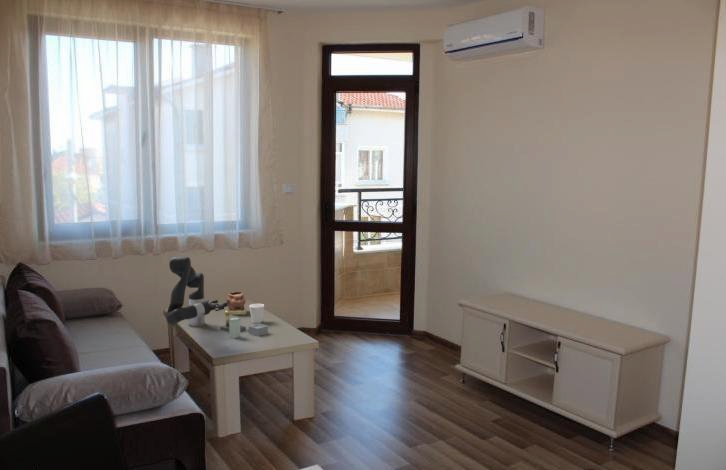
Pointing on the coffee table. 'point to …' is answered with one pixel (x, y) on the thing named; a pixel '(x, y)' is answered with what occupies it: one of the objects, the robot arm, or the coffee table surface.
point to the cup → (256, 312)
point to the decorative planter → (235, 301)
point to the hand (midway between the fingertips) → (222, 302)
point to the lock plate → (226, 328)
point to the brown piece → (232, 314)
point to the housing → (258, 329)
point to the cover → (234, 327)
